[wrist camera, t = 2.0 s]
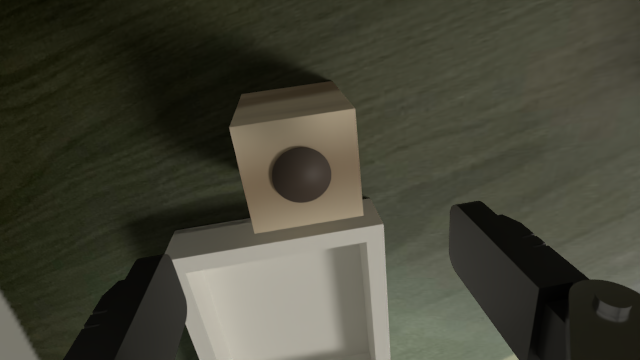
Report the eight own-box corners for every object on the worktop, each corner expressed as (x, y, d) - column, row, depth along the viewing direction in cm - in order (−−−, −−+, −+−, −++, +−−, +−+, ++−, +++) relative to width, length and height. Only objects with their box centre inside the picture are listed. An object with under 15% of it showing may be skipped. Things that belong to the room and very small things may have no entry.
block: (241, 93, 19) (228, 128, 13) (331, 80, 19) (355, 109, 14) (259, 176, 21) (254, 235, 15) (340, 163, 21) (364, 217, 16)
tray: (175, 230, 22) (161, 261, 19) (370, 198, 22) (383, 224, 20) (228, 381, 28) (223, 421, 25) (380, 352, 28) (391, 388, 26)
